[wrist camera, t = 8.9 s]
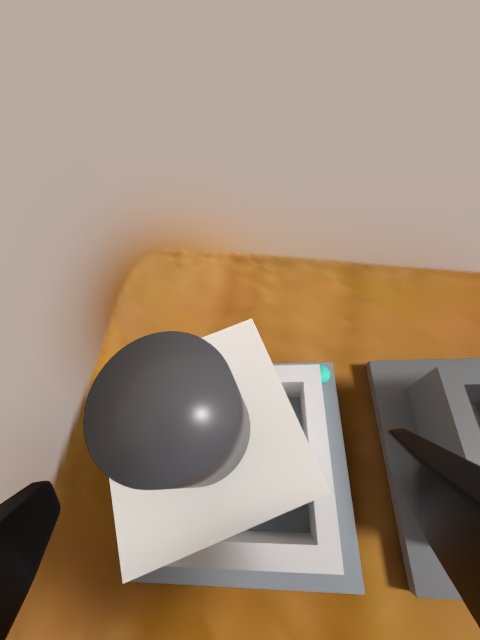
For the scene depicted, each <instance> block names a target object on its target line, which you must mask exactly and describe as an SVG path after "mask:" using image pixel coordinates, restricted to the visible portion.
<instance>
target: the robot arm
mask: <svg viewBox="0 0 480 640" xmlns="http://www.w3.org/2000/svg"><path fill="white" fill-rule="evenodd" d="M386 455H387V461H388V464H389V467H390V469H391V471H392V473H393V475H394V477H395V479H396V481H397V483H398V485H399V487H400V489H401V491H402V493H403V496H404V498H405V500H406V502H407V504H408V506H409V508H410V510H411V512H412V514H413V516H414V518H415V520H416V522H417V524H418V526H419V528H420V530H421V532H422V533H423V535H424V537H425V538H426V540H427V542H428V543H429V545H430V547H431V548H432V550H433V552H434V553H435V555H436V557H437V558H438V560H439V562H440V563H441V565H442V567H443V568H444V570H445V571H446V573H447V575H448V576H449V578H450V580H451V581H452V583H453V585H454V586H455V588H456V590H457V591H458V593H459V595H460V596H461V598H462V600H463V601H464V603H465V604H466V606H467V608H468V609H469V611H470V613H471V614H472V616H473V618H474V619H475V621H476V623H477V624H478V626H479V628H480V466H479V465H477V464H475V463H473V462H471V461H469V460H467V459H465V458H463V457H461V456H459V455H457V454H455V453H453V452H451V451H449V450H447V449H445V448H443V447H441V446H439V445H437V444H435V443H433V442H431V441H429V440H427V439H425V438H423V437H421V436H419V435H417V434H415V433H413V432H411V431H409V430H407V429H405V428H395V429H389V430H387V431H386ZM59 513H60V503H59V500H58V498H57V495H56V493H55V491H54V488H53V486H52V484H51V483H50V482H49V481H40V482H35V483H31V484H30V485H28V486H27V487H25V488H24V489H22V490H21V491H19V492H18V493H16V494H15V495H13V496H12V497H10V498H9V499H7V500H6V501H4V502H3V503H1V504H0V640H5V639H6V637H7V635H8V633H9V631H10V629H11V627H12V625H13V623H14V621H15V618H16V616H17V614H18V612H19V610H20V608H21V606H22V604H23V602H24V600H25V598H26V595H27V593H28V591H29V589H30V587H31V585H32V582H33V580H34V578H35V575H36V573H37V570H38V568H39V565H40V563H41V560H42V558H43V555H44V552H45V550H46V547H47V545H48V542H49V540H50V537H51V534H52V532H53V529H54V527H55V524H56V521H57V519H58V516H59Z"/></svg>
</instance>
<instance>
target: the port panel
mask: <svg viewBox="0 0 480 640" xmlns="http://www.w3.org/2000/svg"><path fill="white" fill-rule="evenodd" d="M273 366H274V368H275V370H276V373H277V375H278V377H279V379H280V381H281V384H282V386H283V388H284V390H285V392H286V395H287V397H288V399H289V401H290V403H291V406H292V408H293V410H294V412H295V414H296V417H297V419H298V421H299V423H300V425H301V428H302V430H303V432H304V434H305V436H306V439H307V441H308V443H309V445H310V447H311V450H312V452H313V454H314V456H315V458H316V461H317V463H318V465H319V467H320V469H321V472H322V474H323V476H324V478H325V480H326V483H327V485H328V487H329V489H330V491H331V493H330V494H327V495H325V496H323V497H320V498H318V499H316V500H314V501H311V502H309V503H307V504H304V505H302V506H300V507H298V508H295V509H293V510H291V511H288V512H286V513H284V514H282V515H279V516H277V517H275V518H272V519H270V520H268V521H266V522H263V523H261V524H259V525H256V526H254V527H252V528H250V529H247V530H245V531H243V532H240V533H238V534H236V535H234V536H231V537H229V538H227V539H225V540H222V541H220V542H218V543H215V544H213V545H211V546H209V547H206V548H204V549H202V550H199V551H197V552H195V553H193V554H190V555H188V556H186V557H183V558H181V559H179V560H177V561H174V562H172V563H170V564H167V565H165V566H163V567H161V568H158V569H156V570H154V571H151V572H149V573H147V574H145V575H142V576H140V577H138V578H136V579H133V580H131V581H130V582H142V583H161V584H179V585H198V586H216V587H235V588H254V589H272V590H291V591H309V592H328V593H346V594H365V590H364V583H363V576H362V569H361V562H360V555H359V547H358V540H357V533H356V526H355V519H354V512H353V505H352V498H351V490H350V483H349V476H348V469H347V462H346V455H345V448H344V440H343V433H342V426H341V419H340V412H339V405H338V398H337V390H336V383H335V376H334V369H333V362H312V363H273Z"/></svg>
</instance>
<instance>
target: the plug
mask: <svg viewBox="0 0 480 640" xmlns="http://www.w3.org/2000/svg"><path fill="white" fill-rule="evenodd" d="M83 424H84V436H85V441H86V444H87V448H88V451H89V453H90V455H91V457H92V459H93V461H94V462H95V463H96V465H97V466H98V468H99V469H100V470H101V471H102V472H103V473H104V474H105V475H106V476H108V477H109V481H110V489H111V497H112V504H113V512H114V520H115V528H116V536H117V544H118V551H119V559H120V567H121V575H122V583H123V584H124V583H126V582H129V581H131V580H133V579H136V578H138V577H140V576H142V575H145V574H147V573H149V572H151V571H154V570H156V569H158V568H161V567H163V566H165V565H167V564H170V563H172V562H174V561H177V560H179V559H181V558H183V557H186V556H188V555H190V554H193V553H195V552H197V551H199V550H202V549H204V548H206V547H209V546H211V545H213V544H215V543H218V542H220V541H222V540H225V539H227V538H229V537H231V536H234V535H236V534H238V533H240V532H243V531H245V530H247V529H250V528H252V527H254V526H256V525H259V524H261V523H263V522H266V521H268V520H270V519H272V518H275V517H277V516H279V515H282V514H284V513H286V512H288V511H291V510H293V509H295V508H298V507H300V506H302V505H304V504H307V503H309V502H311V501H314V500H316V499H318V498H320V497H323V496H325V495H327V494H330V493H331V491H330V489H329V487H328V485H327V483H326V480H325V478H324V476H323V474H322V472H321V469H320V467H319V465H318V463H317V461H316V458H315V456H314V454H313V452H312V450H311V447H310V445H309V443H308V441H307V439H306V436H305V434H304V432H303V430H302V428H301V425H300V423H299V421H298V419H297V417H296V414H295V412H294V410H293V408H292V406H291V403H290V401H289V399H288V397H287V395H286V392H285V390H284V388H283V386H282V384H281V381H280V379H279V377H278V375H277V373H276V370H275V368H274V366H273V364H272V362H271V359H270V357H269V355H268V353H267V351H266V348H265V346H264V344H263V342H262V340H261V337H260V335H259V333H258V331H257V329H256V326H255V324H254V322H253V320H252V319H249V320H247V321H244V322H241V323H239V324H236V325H234V326H231V327H228V328H226V329H223V330H221V331H218V332H215V333H213V334H210V335H208V336H205V337H202V338H200V337H198V336H195V335H192V334H189V333H184V332H176V331H167V332H159V333H154V334H150V335H147V336H144V337H142V338H139V339H137V340H135V341H133V342H132V343H130V344H128V345H127V346H125V347H124V348H122V349H121V350H120V351H118V352H117V353H116V354H115V355H114V356H113V357H112V358H111V359H110V360H109V361H108V362H107V363H106V364H105V366H104V367H103V368H102V370H101V371H100V372H99V374H98V376H97V377H96V379H95V381H94V383H93V385H92V387H91V389H90V392H89V394H88V397H87V400H86V405H85V410H84V419H83Z"/></svg>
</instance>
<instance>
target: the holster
mask: <svg viewBox="0 0 480 640" xmlns="http://www.w3.org/2000/svg"><path fill="white" fill-rule="evenodd" d="M366 370H367V375H368V381H369V386H370V391H371V396H372V401H373V406H374V411H375V417H376V422H377V427H378V432H379V437H380V442H381V447H382V453H383V458H384V463H385V468H386V473H387V478H388V484H389V489H390V494H391V499H392V504H393V509H394V514H395V520H396V525H397V530H398V535H399V540H400V545H401V550H402V556H403V561H404V566H405V571H406V576H407V581H408V586H409V591H410V592H411V593H412V594H414V595H415V596H416V597H420V598H439V599H457V600H462V598H461V596H460V595H459V593H458V591H457V590H456V588H455V586H454V585H453V583H452V581H451V580H450V578H449V576H448V575H447V573H446V571H445V570H444V568H443V567H442V565H441V563H440V562H439V560H438V558H437V557H436V555H435V553H434V552H433V550H432V548H431V547H430V545H429V543H428V542H427V540H426V538H425V537H424V535H423V533H422V532H421V530H420V528H419V526H418V524H417V522H416V520H415V518H414V516H413V514H412V512H411V510H410V508H409V506H408V504H407V502H406V500H405V498H404V496H403V493H402V491H401V489H400V487H399V485H398V483H397V481H396V479H395V477H394V475H393V473H392V471H391V469H390V467H389V464H388V461H387V455H386V431H387V430H389V429H395V428H405V429H407V430H409V431H411V432H413V433H415V434H417V435H419V436H421V437H423V438H425V439H427V440H429V441H431V442H433V443H435V444H437V445H439V446H441V447H443V448H445V449H447V450H449V451H451V452H453V453H455V454H457V455H459V456H461V457H463V458H465V459H467V460H469V461H471V462H473V463H475V464H477V465H479V466H480V358H468V359H429V360H390V361H369V362H368V363H367V365H366Z"/></svg>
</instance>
